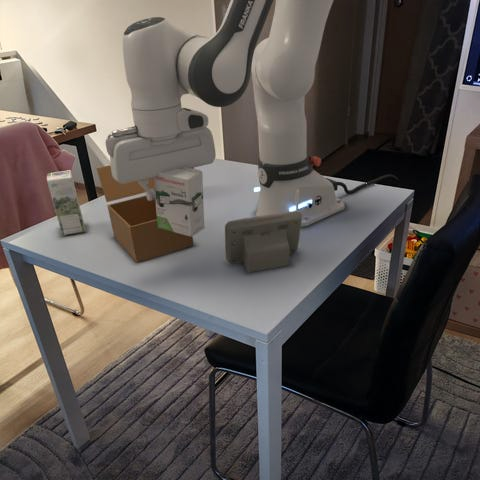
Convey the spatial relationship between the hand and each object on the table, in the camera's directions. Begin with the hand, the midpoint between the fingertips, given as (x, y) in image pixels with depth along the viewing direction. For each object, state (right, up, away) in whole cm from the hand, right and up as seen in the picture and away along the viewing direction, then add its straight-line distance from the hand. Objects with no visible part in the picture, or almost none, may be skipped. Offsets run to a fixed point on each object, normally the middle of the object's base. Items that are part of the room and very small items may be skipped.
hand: (169, 195), depth 103 cm
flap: (-12, +9, +20) cm, 25 cm away
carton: (-7, -6, +21) cm, 23 cm away
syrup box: (-28, -2, +30) cm, 41 cm away
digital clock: (+19, -12, +9) cm, 24 cm away
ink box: (+2, -6, +2) cm, 7 cm away
